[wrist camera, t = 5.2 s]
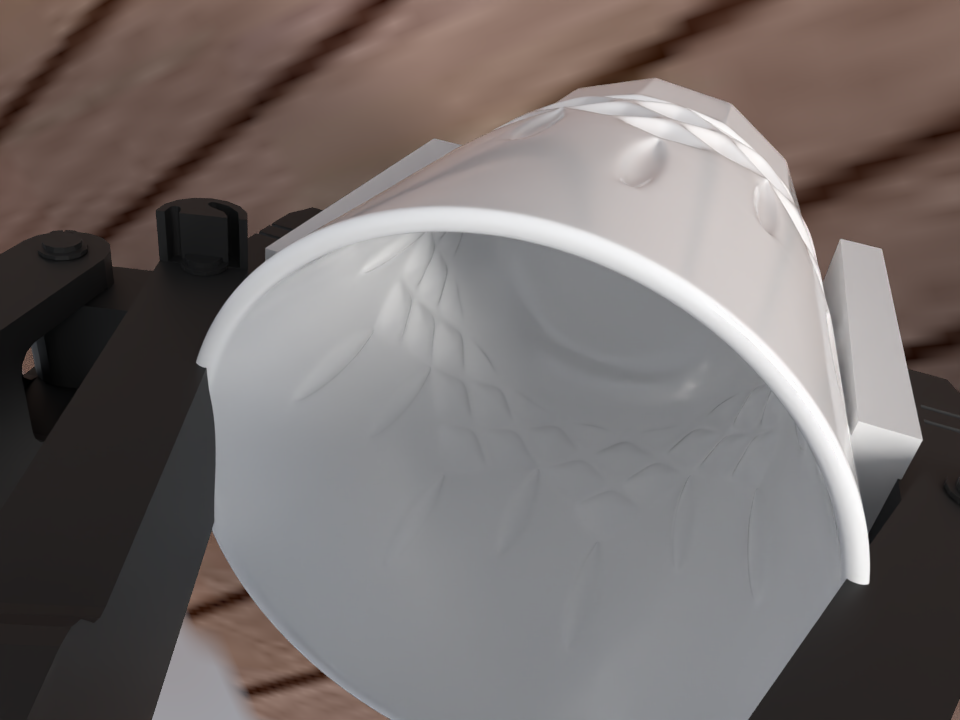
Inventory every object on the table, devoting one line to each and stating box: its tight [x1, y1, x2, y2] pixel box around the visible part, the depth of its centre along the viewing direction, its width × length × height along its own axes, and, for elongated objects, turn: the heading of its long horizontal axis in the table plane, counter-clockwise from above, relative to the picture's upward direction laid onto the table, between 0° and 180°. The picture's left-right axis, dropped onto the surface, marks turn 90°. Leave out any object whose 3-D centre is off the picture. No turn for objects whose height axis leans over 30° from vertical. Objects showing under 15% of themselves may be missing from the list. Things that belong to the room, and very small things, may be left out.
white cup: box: [196, 78, 870, 720], centre depth 13 cm, size 8×8×10 cm
